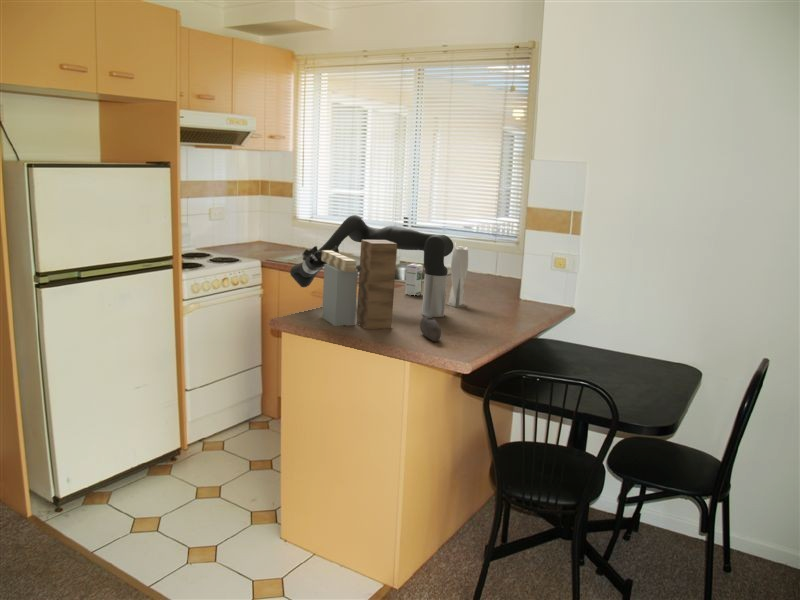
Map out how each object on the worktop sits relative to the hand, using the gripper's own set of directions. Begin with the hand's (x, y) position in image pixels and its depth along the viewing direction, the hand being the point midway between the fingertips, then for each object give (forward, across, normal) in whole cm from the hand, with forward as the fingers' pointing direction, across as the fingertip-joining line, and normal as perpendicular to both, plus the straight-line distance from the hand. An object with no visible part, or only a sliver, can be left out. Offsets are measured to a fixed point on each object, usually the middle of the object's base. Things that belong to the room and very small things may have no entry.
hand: (326, 248), depth 265 cm
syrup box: (-36, +55, +10) cm, 66 cm away
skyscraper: (-15, +64, +21) cm, 69 cm away
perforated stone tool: (+27, +24, +45) cm, 58 cm away
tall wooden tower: (+9, +11, +34) cm, 37 cm away
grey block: (+1, 0, +30) cm, 30 cm away
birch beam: (+8, 0, +10) cm, 13 cm away
